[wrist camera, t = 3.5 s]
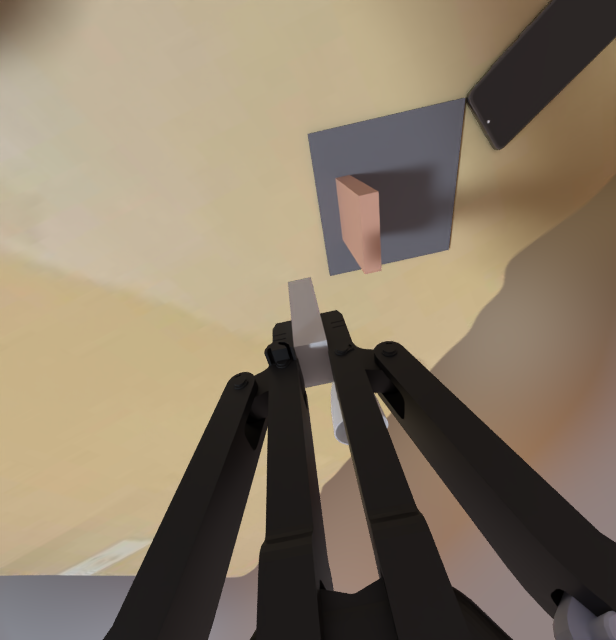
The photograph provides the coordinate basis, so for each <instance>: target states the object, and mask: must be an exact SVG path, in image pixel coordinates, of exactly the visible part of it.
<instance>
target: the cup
mask: <svg viewBox="0 0 616 640" xmlns="http://www.w3.org/2000/svg"><path fill="white" fill-rule="evenodd" d="M374 395H375V394H374ZM375 398H376V396H375ZM376 401H377V403H378V406H379V409H380V411H381V414H382V416H383V419H384V422H385V424H386V427H387V428H388V421H387V419H386V417H385V414H384V412H383V410H382V408H381V406H380V404H379V402H378V400H377V398H376ZM331 413H332V420H333V428H334V435H335V438H336V439H337V440H338V441H339V442H341V443H343V444H346V445H349V444H348V440H347V435H346V431H345V427H344V423H343V418H342V414H341V410H340V405H339V401H338V398H337V393H336V388H335V383H334V382H332V388H331Z"/></svg>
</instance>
